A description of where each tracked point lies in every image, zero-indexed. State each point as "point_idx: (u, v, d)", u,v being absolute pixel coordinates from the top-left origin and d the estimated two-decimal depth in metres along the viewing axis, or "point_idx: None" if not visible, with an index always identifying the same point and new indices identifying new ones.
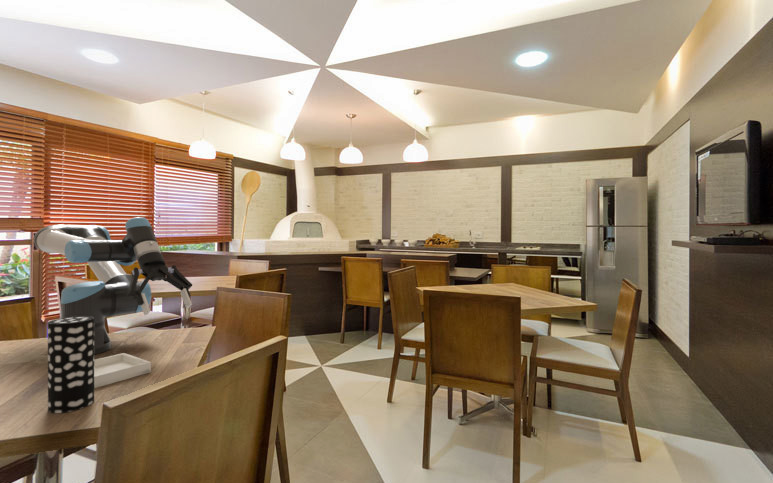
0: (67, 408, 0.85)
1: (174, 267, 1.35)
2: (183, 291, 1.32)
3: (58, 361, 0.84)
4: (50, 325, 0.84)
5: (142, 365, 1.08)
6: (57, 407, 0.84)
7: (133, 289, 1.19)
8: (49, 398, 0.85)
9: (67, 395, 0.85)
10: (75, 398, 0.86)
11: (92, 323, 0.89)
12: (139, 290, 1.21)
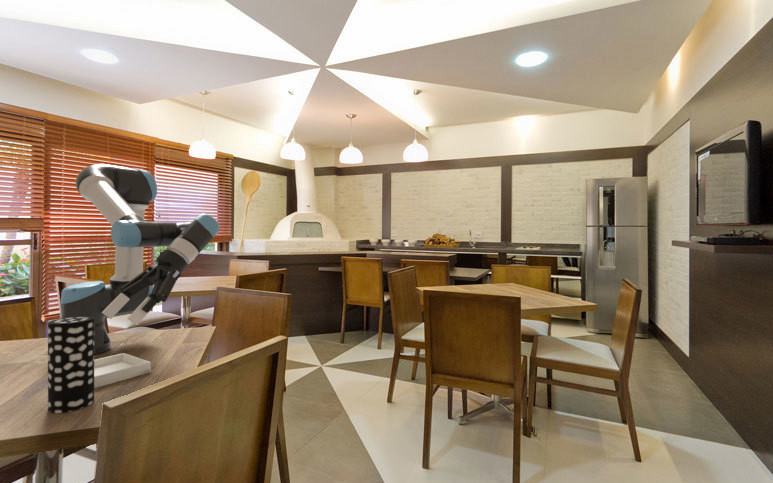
0: (67, 408, 0.85)
1: None
2: (125, 299, 1.03)
3: (58, 361, 0.84)
4: (50, 325, 0.84)
5: (142, 365, 1.08)
6: (57, 407, 0.84)
7: None
8: (49, 398, 0.85)
9: (67, 395, 0.85)
10: (75, 398, 0.86)
11: (92, 323, 0.89)
12: None
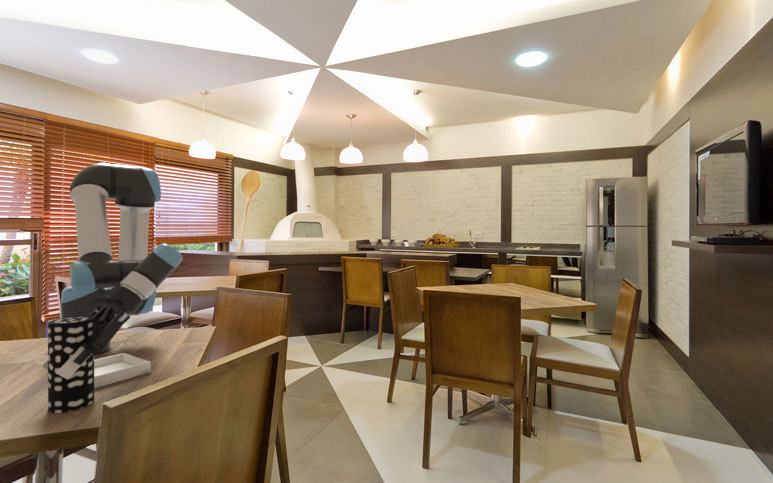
0: (67, 408, 0.85)
1: None
2: None
3: (58, 361, 0.84)
4: (50, 325, 0.84)
5: (142, 365, 1.08)
6: (57, 407, 0.84)
7: None
8: (49, 398, 0.85)
9: (67, 395, 0.85)
10: (75, 398, 0.86)
11: (92, 323, 0.89)
12: None
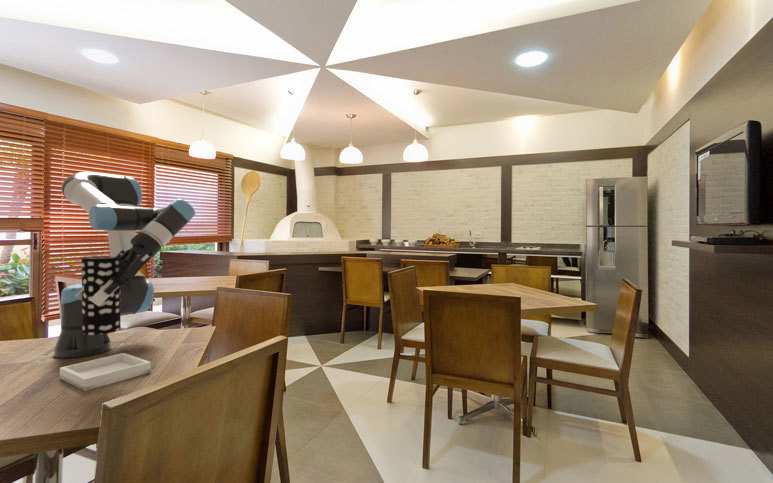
0: (98, 331, 0.99)
1: None
2: None
3: (91, 290, 0.98)
4: (84, 260, 0.99)
5: (142, 365, 1.08)
6: (90, 330, 0.99)
7: None
8: (83, 322, 0.99)
9: (98, 320, 0.99)
10: (105, 323, 1.00)
11: (118, 261, 1.04)
12: None
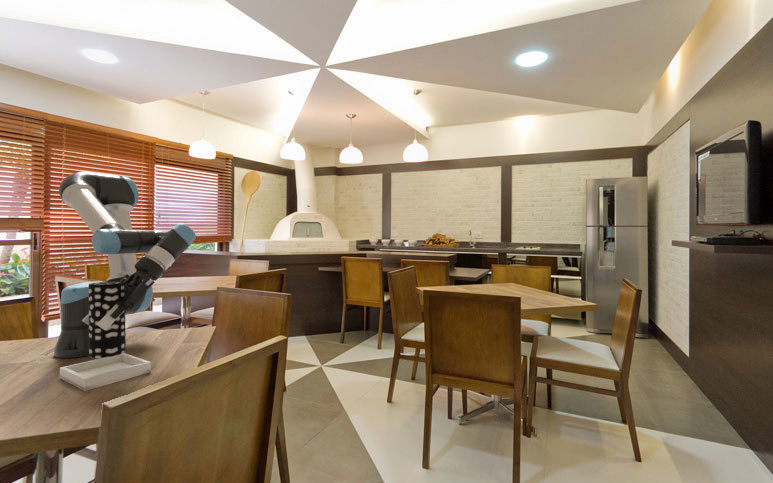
0: (105, 354, 1.03)
1: None
2: None
3: (98, 315, 1.03)
4: (91, 286, 1.03)
5: (142, 365, 1.08)
6: (97, 353, 1.03)
7: None
8: (90, 346, 1.03)
9: (105, 343, 1.03)
10: (111, 346, 1.04)
11: (124, 286, 1.08)
12: None
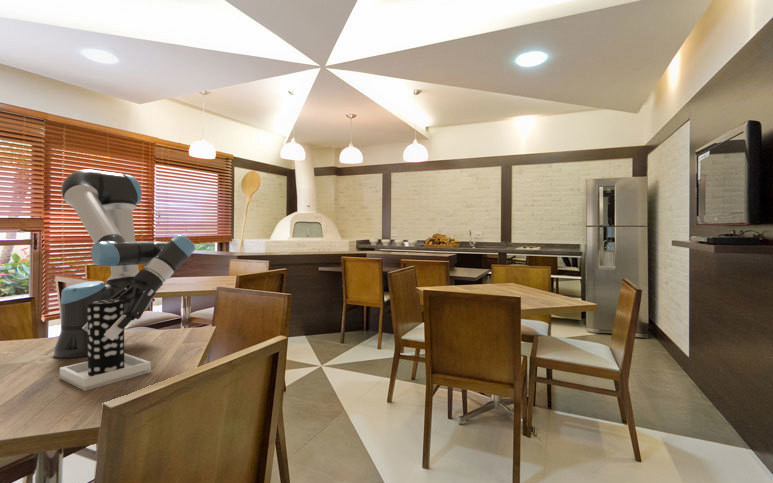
0: (104, 372, 1.04)
1: None
2: None
3: (97, 334, 1.03)
4: (90, 305, 1.03)
5: (142, 365, 1.08)
6: (96, 372, 1.03)
7: None
8: (89, 365, 1.04)
9: (104, 362, 1.04)
10: (110, 365, 1.05)
11: (123, 304, 1.08)
12: None
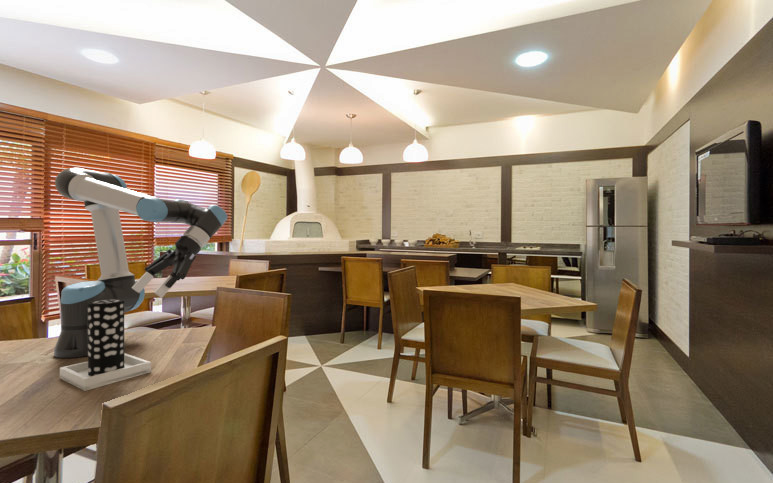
0: (103, 372, 1.04)
1: None
2: (150, 277, 1.24)
3: (97, 334, 1.03)
4: (90, 305, 1.03)
5: (142, 365, 1.08)
6: (96, 372, 1.03)
7: None
8: (89, 365, 1.04)
9: (104, 362, 1.04)
10: (110, 365, 1.05)
11: (123, 304, 1.08)
12: None
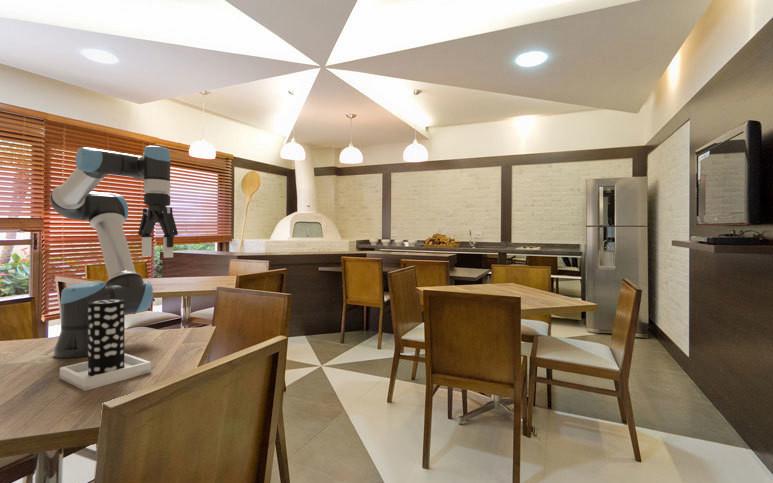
0: (103, 372, 1.04)
1: None
2: (149, 239, 1.30)
3: (97, 334, 1.03)
4: (90, 305, 1.03)
5: (142, 365, 1.08)
6: (96, 372, 1.03)
7: None
8: (89, 365, 1.04)
9: (104, 362, 1.04)
10: (110, 365, 1.05)
11: (123, 304, 1.08)
12: None
